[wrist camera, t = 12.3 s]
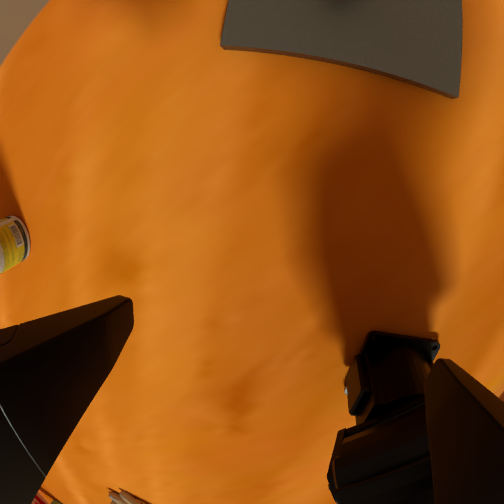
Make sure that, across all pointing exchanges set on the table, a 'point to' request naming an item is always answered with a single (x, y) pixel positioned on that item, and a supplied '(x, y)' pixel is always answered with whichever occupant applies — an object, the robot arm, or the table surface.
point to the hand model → (122, 498)
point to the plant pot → (55, 502)
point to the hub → (357, 36)
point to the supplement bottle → (13, 242)
